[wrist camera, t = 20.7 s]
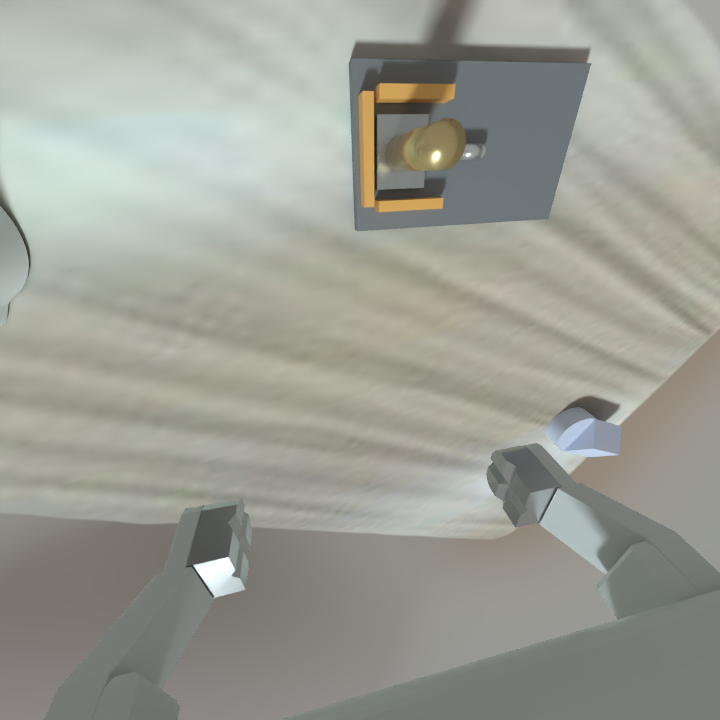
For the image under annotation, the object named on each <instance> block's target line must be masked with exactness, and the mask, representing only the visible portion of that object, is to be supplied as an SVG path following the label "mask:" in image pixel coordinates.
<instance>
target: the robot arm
mask: <svg viewBox="0 0 720 720" xmlns="http://www.w3.org/2000/svg"><path fill="white" fill-rule="evenodd" d="M28 271H29V260H28V254H27V250H26V247H25V244H24V241H23V239H22V237H21V235H20V233H19V231H18V229H17V228H16V226H15V224H14V223H13V221H12V220H11V219H10V217H9V216H8V215H7V213H6V212H5V211H4V210H3V208H2V207H1V206H0V325H3V324H4V323H5V321H6V319H7V315H8V304H9V302H10V301H11V299H12V298H13V297H14V296H15V295H16V294H17V293H18V292H19V291H20V290H21V289H22V287H23V286H24V284H25V282H26V279H27V276H28ZM491 460H492V461H493V463H492V464H491V465H490V466H489V467H488V470H487V480H488V484H489V486H490V488H491V490H492V492H493V493H494V495H495V496H496V497H498V498H499V499H501V500H503V509H504V511H505V512H506V514H507V515H508V517H509V519H510V520H511V522H512V523H513V525H514V526H515V527H520V526H525V525H530V524H535V523H540V525H541V526H543V527H544V528H545V529H546V530H548V531H549V532H550V533H552V534H553V535H554V536H556V537H557V538H558V539H560V540H561V541H562V542H564V543H565V544H566V545H568V546H569V547H570V548H572V549H573V550H574V551H575V552H577V553H578V554H579V555H581V556H582V557H583V558H585V559H586V560H587V561H589V562H590V563H591V564H593V565H594V566H595V567H596V568H598V569H599V570H600V571H602V572H603V573H604V574H606V575H605V576H604V578H603V579H602V580H601V581H600V582H599V584H598V585H597V591H598V593H599V594H600V595H601V597H602V598H603V600H604V601H605V602H606V604H607V605H608V606H609V608H610V609H611V611H612V612H613V613H614V615H615V616H616V618H617V619H618V620H614V621H611V622H608V623H604V624H601V625H597V626H594V627H591V628H587V629H584V630H581V631H577V632H574V633H570V634H567V635H564V636H560V637H557V638H554V639H550V640H547V641H543V642H540V643H537V644H533V645H530V646H527V647H523V648H520V649H516V650H513V651H510V652H506V653H503V654H499V655H496V656H493V657H489V658H486V659H483V660H479V661H476V662H473V663H469V664H466V665H462V666H459V667H456V668H452V669H449V670H445V671H442V672H439V673H435V674H432V675H429V676H425V677H422V678H418V679H415V680H412V681H409V682H405V683H402V684H398V685H395V686H391V687H388V688H385V689H381V690H378V691H375V692H371V693H368V694H364V695H361V696H358V697H354V698H351V699H348V700H344V701H341V702H337V703H334V704H331V705H327V706H324V707H321V708H317V709H314V710H311V711H307V712H304V713H300V714H297V715H294V716H290V717H287V718H284V719H280V720H720V573H719V572H718V571H717V570H716V569H715V568H714V567H713V566H712V565H710V563H708V562H707V561H706V560H705V559H704V558H703V557H702V556H701V555H700V554H699V553H698V552H697V551H695V550H694V549H693V548H692V547H691V546H690V545H689V544H688V543H687V542H686V541H685V540H684V539H683V538H682V537H681V536H680V535H678V534H677V533H676V532H675V531H673V530H671V529H669V528H667V527H665V526H663V525H661V524H659V523H657V522H655V521H653V520H651V519H650V518H648V517H646V516H644V515H642V514H640V513H638V512H636V511H634V510H632V509H630V508H628V507H626V506H624V505H623V504H621V503H618V502H617V501H615V500H613V499H611V498H609V497H607V496H605V495H603V494H601V493H599V492H597V491H595V490H593V489H592V488H590V487H588V486H586V485H584V484H582V483H579V484H577V483H576V482H575V481H574V480H573V479H572V478H571V477H570V476H569V475H568V474H567V473H566V471H565V470H564V469H563V468H562V467H561V466H560V465H559V464H558V463H557V462H556V461H555V460H554V459H553V458H552V456H551V455H550V454H549V453H548V452H547V451H546V450H545V449H544V448H543V447H542V446H541V445H539V444H537V443H535V444H529V445H524V446H517V447H512V448H507V449H502V450H498V451H495V452H493V453H492V456H491ZM244 506H245V505H244V503H243V501H242V499H239V500H233V501H227V502H221V503H215V504H210V505H203V506H198V507H192V508H187V509H185V511H184V512H183V514H182V515H181V518H180V521H179V524H178V527H177V530H176V534H175V537H174V540H173V543H172V546H171V549H170V552H169V556H168V558H167V561H166V564H165V567H164V570H163V572H162V573H158V574H156V575H155V577H154V578H153V579H152V580H151V581H150V582H149V583H148V585H147V586H146V587H145V588H144V589H143V590H142V592H141V593H140V594H139V595H138V596H137V597H136V599H135V600H134V601H133V602H132V603H131V604H130V606H129V607H128V608H127V609H126V610H125V611H124V613H123V614H122V615H121V616H120V617H119V619H118V620H117V621H116V622H115V623H114V624H113V625H112V627H111V628H110V629H109V630H108V631H107V633H106V634H105V635H104V636H103V637H102V638H101V639H100V641H99V642H98V643H97V644H96V645H95V647H94V648H93V649H92V650H91V651H90V652H89V654H88V655H87V656H86V657H85V658H84V660H82V662H81V663H80V664H79V665H78V666H77V667H76V669H75V670H74V671H73V672H72V673H71V674H70V676H69V677H68V678H67V679H66V680H65V681H64V683H63V684H62V685H61V686H60V687H59V688H58V690H57V693H56V695H55V697H54V699H53V701H52V703H51V706H50V708H49V710H48V712H47V715H46V717H45V719H44V720H177V719H178V714H179V710H180V705H179V703H178V701H177V700H176V699H175V698H173V697H172V696H170V695H169V694H167V693H166V692H164V691H163V690H162V688H163V686H164V684H165V683H166V681H167V679H168V677H169V676H170V674H171V672H172V671H173V669H174V667H175V666H176V664H177V662H178V660H179V659H180V657H181V655H182V654H183V652H184V650H185V648H186V647H187V645H188V643H189V642H190V640H191V638H192V637H193V635H194V633H195V631H196V630H197V628H198V626H199V625H200V623H201V621H202V619H203V618H204V616H205V615H206V613H207V611H208V609H209V608H210V606H211V604H212V603H213V601H214V599H213V598H215V597H219V596H223V595H227V594H231V593H234V592H238V591H242V590H245V589H246V582H247V573H248V565H249V563H248V561H247V559H246V556H245V554H246V553H247V551H248V550H249V548H250V547H251V522H250V518H249V515H248V514H247V513H245V512H244Z"/></svg>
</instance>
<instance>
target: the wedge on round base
mask: <svg viewBox="0 0 720 720" xmlns="http://www.w3.org/2000/svg"><path fill="white" fill-rule="evenodd" d="M546 435H547V437H548V438H549V439H550V440H551V441H552V442H553V443H554V444H555V445H556V446H557V447H558V448H559V449H560V450H561V451H565V452H569V453H573V454H578V455H582V456H587V457H596V456H611V455H619V454H620V437H621V426H617V425H614V424H611V423H607V422H604V421H601V420H597V419H596V418H595V417H593V416H592V415H591V414H590V413H588V412H587V411H586V410H585V409H583V408H580V407H574V408H570V409H567V410H565V411H563V412H561V413H560V414H558V415H557V416H556V417H554V418H553V419H552V421H551V422H550V423H549V425H548V426H547V429H546Z"/></svg>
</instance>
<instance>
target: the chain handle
mask: <svg viewBox="0 0 720 720" xmlns="http://www.w3.org/2000/svg"><path fill="white" fill-rule="evenodd" d="M428 122H429V114H377V115H376V116H375V189H376V190H383V189H406V188H424V178H425V171H437V170H448V169H450V168H452V167H454V166H455V165H456V164H457V163H458V162H459V161H460V160H480V159H482V158H483V157H484V156H485V154H486V151H487V149H486V146H485V145H484V144H483V143H467V144H466V134H465V131H464V128H463V126H462V125H461V123H460V122H459V121H457V120H456V119H453V118H444V119H441V120H438V121H436V122H433V123H430V124H428Z"/></svg>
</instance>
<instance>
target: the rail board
mask: <svg viewBox="0 0 720 720" xmlns="http://www.w3.org/2000/svg"><path fill="white" fill-rule="evenodd" d="M590 65H591V63H551V62H503V61H455V60H408V59H360V58H352V59H351V61H350V63H349V78H350V106H351V134H352V161H353V189H354V217H355V230H357V231H367V230H382V229H398V228H414V227H429V226H445V225H460V224H476V223H491V222H507V221H522V220H538V219H548V218H549V214H550V210H551V207H552V203H553V200H554V196H555V192H556V189H557V185H558V181H559V178H560V174H561V171H562V167H563V163H564V160H565V156H566V152H567V149H568V145H569V142H570V138H571V134H572V131H573V127H574V123H575V120H576V116H577V113H578V109H579V105H580V102H581V98H582V94H583V91H584V87H585V84H586V80H587V76H588V73H589V69H590ZM377 114H429V122H428V124H430V123H433V122H436V121H438V120H441V119H444V118H453V119H456V120H457V121H459V122H460V123H461V125H462V126H463V128H464V131H465V134H466V144H467V143H483V144H484V145H485V146H486V149H487V151H486V154H485V156H484V157H483V158H482V159H480V160H460V161H459V162H458V163H457V164H456V165H455V166H454V167H452V168H450V169H448V170H437V171H425V178H424V188H406V189H383V190H376V189H375V116H376V115H377Z"/></svg>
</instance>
